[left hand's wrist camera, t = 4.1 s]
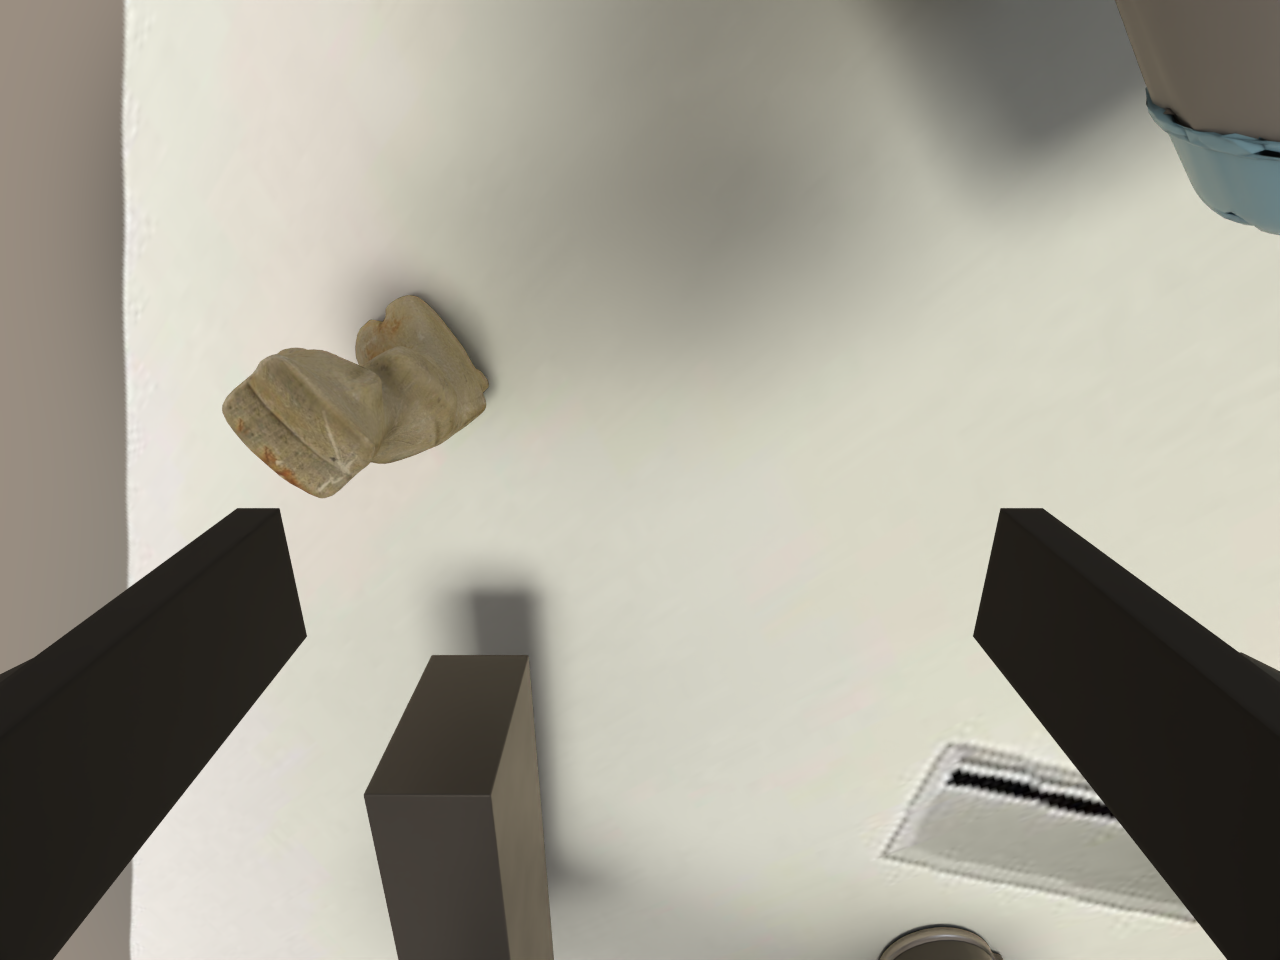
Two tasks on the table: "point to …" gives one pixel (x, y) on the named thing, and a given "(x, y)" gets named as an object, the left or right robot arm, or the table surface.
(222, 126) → the table surface
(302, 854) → the table surface
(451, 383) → the sculpture
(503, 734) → the bar
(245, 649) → the left robot arm
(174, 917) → the table surface
